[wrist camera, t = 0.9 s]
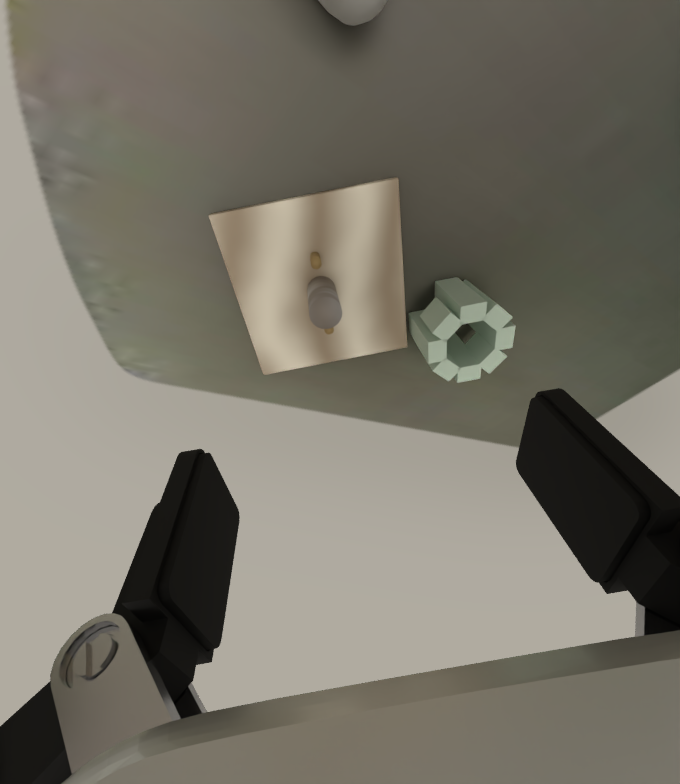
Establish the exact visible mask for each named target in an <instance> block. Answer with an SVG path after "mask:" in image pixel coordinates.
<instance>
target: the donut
mask: <svg viewBox="0 0 680 784" xmlns="http://www.w3.org/2000/svg"><path fill="white" fill-rule="evenodd" d="M318 1H319V2H320V3H321V4H322V6H323V7H324V8H325V9H326V10H327V11H328V13H330V14H331V15H333V16H334V17H335V18H337V19H338V20H340V21H341V22H343V23H344V24H346V25H352V26H356V25H359V24H362V23H365V22H368V21H370V20H372V19H373V18H374V17H375V16H377V15H378V14H379V13H380V12H381V10H382V9H383V7H384V6H385V4H386V3H387V0H318Z"/></svg>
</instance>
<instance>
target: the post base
mask: <svg viewBox="0 0 680 784" xmlns="http://www.w3.org/2000/svg"><path fill="white" fill-rule="evenodd" d="M209 218H210V221H211V224H212V227H213V230H214V233H215V236H216V239H217V242H218V244H219V247H220V250H221V253H222V256H223V259H224V262H225V265H226V268H227V270H228V273H229V276H230V279H231V282H232V285H233V288H234V291H235V294H236V296H237V299H238V302H239V305H240V308H241V311H242V314H243V317H244V320H245V322H246V325H247V328H248V331H249V334H250V337H251V340H252V343H253V346H254V348H255V351H256V354H257V357H258V360H259V363H260V366H261V369H262V372H263V375H266V374H271V373H276V372H282V371H287V370H292V369H297V368H302V367H307V366H312V365H318V364H323V363H328V362H333V361H338V360H343V359H349V358H354V357H359V356H364V355H369V354H374V353H380V352H385V351H390V350H395V349H400V348H405V347H407V332H406V313H405V294H404V275H403V256H402V238H401V219H400V200H399V181H398V178H396V177H393V178H388V179H383V180H378V181H373V182H368V183H363V184H358V185H353V186H348V187H343V188H338V189H333V190H328V191H322V192H317V193H312V194H307V195H302V196H297V197H292V198H287V199H282V200H277V201H272V202H267V203H262V204H257V205H252V206H247V207H241V208H236V209H231V210H226V211H221V212H216V213H211V214H210V215H209Z"/></svg>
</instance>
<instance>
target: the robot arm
mask: <svg viewBox="0 0 680 784" xmlns="http://www.w3.org/2000/svg"><path fill="white" fill-rule="evenodd" d="M516 467H517V470H518V472H519V474H520V475H521V477H522V478H523V480H524V481H525V483H526V484H527V486H528V487H529V489H530V490H531V492H532V493H533V494H534V496H535V498H536V499H537V501H538V502H539V503H540V505H541V506H542V508H543V509H544V511H545V512H546V514H547V515H548V517H549V518H550V520H551V521H552V523H553V524H554V525H555V527H556V529H557V530H558V532H559V533H560V535H561V536H562V537H563V539H564V540H565V542H566V543H567V545H568V546H569V548H570V549H571V551H572V552H573V554H574V555H575V557H576V558H577V559H578V561H579V563H580V564H581V566H582V567H583V568H584V570H585V571H586V573H587V574H588V576H589V577H590V578H591V579H592V580H593V581H595V582H599V583H600V585H601V586H602V588H603V589H604V590H605V592H606V593H607V594H609V593H615V592H621V591H627V590H628V591H629V592H630V593H631V595H632V596H633V597H634V599H635V600H636V629H635V630H636V631H635V637H631V638H624V639H618V640H612V641H606V642H600V643H594V644H588V645H582V646H576V647H570V648H565V649H558V650H552V651H546V652H540V653H534V654H528V655H523V656H516V657H511V658H505V659H499V660H493V661H488V662H482V663H476V664H470V665H465V666H459V667H453V668H447V669H441V670H435V671H430V672H424V673H419V674H412V675H407V676H401V677H395V678H389V679H384V680H378V681H373V682H368V683H361V684H356V685H350V686H344V687H339V688H333V689H328V690H322V691H316V692H311V693H305V694H300V695H294V696H289V697H283V698H277V699H272V700H267V701H262V702H257V703H252V704H247V705H242V706H237V707H232V708H226V709H222V710H217V711H212V712H207V711H206V709H205V707H204V705H203V703H202V702H201V700H200V698H199V696H198V695H197V693H196V691H195V689H194V687H193V685H192V683H191V682H192V681H193V678H194V673H195V667H196V665H198V664H204V663H209V662H212V657H213V650H214V649H215V648H218V647H219V645H220V642H221V638H222V631H223V625H224V618H225V612H226V605H227V599H228V592H229V585H230V579H231V572H232V565H233V559H234V552H235V545H236V539H237V532H238V526H239V511H238V508H237V506H236V504H235V502H234V500H233V498H232V496H231V494H230V492H229V490H228V488H227V486H226V484H225V482H224V480H223V478H222V476H221V474H220V472H219V470H218V468H217V466H216V464H215V462H214V460H213V458H212V456H211V454H210V453H205V452H204V451H203V450H202V449H197V450H191V451H185V452H181V453H179V455H178V457H177V459H176V462H175V464H174V467H173V470H172V472H171V475H170V478H169V481H168V483H167V485H166V488H165V491H164V493H163V496H162V499H161V501H160V503H158V504H157V505H156V506H155V507H154V509H153V511H152V513H151V515H150V518H149V520H148V523H147V525H146V528H145V531H144V533H143V536H142V538H141V541H140V543H139V546H138V548H137V551H136V554H135V556H134V559H133V561H132V564H131V566H130V569H129V571H128V574H127V577H126V579H125V582H124V584H123V587H122V589H121V592H120V594H119V597H118V600H117V602H116V605H115V607H114V610H113V612H112V613H111V614H103V615H100V616H98V617H95V618H93V619H91V620H90V621H88V622H87V623H85V624H84V625H82V626H81V627H80V628H79V629H78V630H77V631H76V632H75V633H73V634H72V635H71V637H70V638H69V639H68V640H67V642H66V643H65V644H64V645H63V647H62V648H61V650H60V651H59V654H58V655H57V657H56V659H55V661H54V664H53V667H52V671H51V675H50V677H51V679H50V680H51V681H50V682H49V683H48V684H47V685H46V686H45V687H43V688H42V689H41V690H40V691H39V692H38V693H37V694H36V695H35V696H33V697H32V698H31V699H30V700H29V701H28V702H27V703H26V704H25V705H24V706H22V707H21V708H20V709H19V710H18V711H17V712H16V713H15V714H14V715H13V716H11V717H10V718H9V719H8V720H7V721H6V722H5V723H4V724H3V725H1V726H0V784H680V496H678V495H677V494H676V493H675V492H674V491H673V490H672V489H671V488H670V487H669V486H667V485H666V484H665V483H664V482H663V481H662V480H661V479H660V478H659V477H658V476H657V475H655V473H653V472H652V471H651V470H650V469H649V468H648V467H647V466H646V465H645V464H644V463H643V462H641V461H640V460H639V459H638V458H637V457H636V456H635V455H634V454H633V453H632V452H631V451H629V450H628V449H627V448H626V447H625V446H624V445H623V444H622V443H621V442H620V441H619V440H617V439H616V438H615V437H614V436H613V435H612V434H611V433H609V431H608V430H607V429H606V428H605V427H603V426H602V425H601V424H600V423H599V422H598V421H597V420H596V419H595V418H594V417H593V416H591V415H590V414H589V413H588V412H587V411H586V410H585V409H584V408H583V407H582V406H581V405H580V404H578V403H577V402H576V401H575V400H574V399H573V398H572V397H571V396H570V395H569V394H568V393H566V392H565V391H564V390H563V389H559V388H558V389H552V390H547V391H541V392H538V393H537V394H536V396H535V398H532V399H531V401H530V405H529V409H528V413H527V417H526V422H525V426H524V430H523V434H522V438H521V443H520V447H519V451H518V455H517V460H516Z"/></svg>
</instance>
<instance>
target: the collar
mask: <svg viewBox="0 0 680 784" xmlns="http://www.w3.org/2000/svg"><path fill="white" fill-rule="evenodd" d="M408 317H409V333H410V334H411V336H412V338H413V340H414V341H415V343H416V345H417V346H418V348H419V350H420V351H421V353H422V355H423V356H424V358H425V360H426V361H427V363H428V364H429V366H430V368H431V369H432V371H433V372H435V373H436V374H438V375H439V376H441V377H443V378H444V379H446V380H447V381H450V380H451V379H452V378H453V377H454V379H455V380H456V382H457V383H459V382H464V381H469V380H475V379H480V375H481V368H482V369H483V370H485V371H486V372H488V373H491V372H492V371H493V370H494V369H495V368H496V367H497V366H498V365H499V364H500V363H501V362H502V361H503V360H504V359H505V358H506V357H507V355H506V354H505V353H504V352H503V351H502V350H503V349H508V348H512V347H513V340H514V334H515V327H516V325H514V324H513V323H512V322H511V321H510V320H511V319H512V318H513V317H512V316H511V315H510V314H508V313H507V312H506V311H505V310H504V309H503V308H501V307H500V306H499V305H498V304H497V303H495V302H494V301H493V300H492V299H490V298H489V297H488V296H487V295H485V294H484V293H483V292H481V291H480V290H479V289H478V288H476V287H475V286H474V285H473V284H471V283H470V282H469V281H467V280H466V279H465V280H464V281H461V280H460V279H459V278H458V277H454V278H449V279H444V280H439V281H435V298H434V299H433V301H432V302H431V303H430V304H429V305H428V306H427V308H426V309H425V310H420V311H415V312H410V313H408ZM462 324H469V325H470V326H471V327H472V328H473V329H474V331H475V332H476V333H475V334H474V335H473V336H472V337H471V338H470V339H469V340H468V341H467V342H466V343H465V344H464V343H463V341H462V340H461V339H460V338H459V337H458V336H457V334H456V333H455V332H456V331H457V330H458V328H459V327H460V326H461V325H462Z"/></svg>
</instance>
